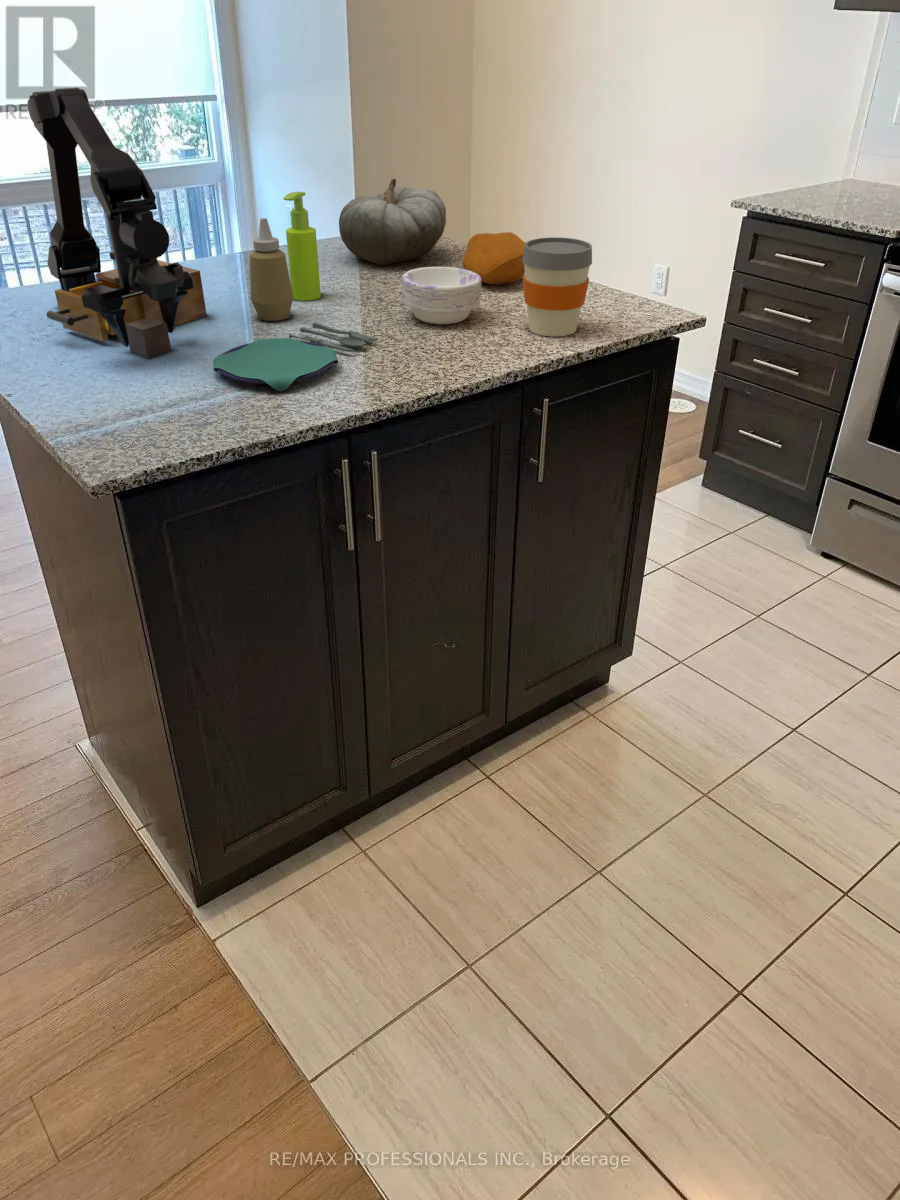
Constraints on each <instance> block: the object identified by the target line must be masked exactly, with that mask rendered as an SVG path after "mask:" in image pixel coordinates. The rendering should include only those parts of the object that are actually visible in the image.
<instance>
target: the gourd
mask: <svg viewBox="0 0 900 1200" xmlns="http://www.w3.org/2000/svg"><path fill="white" fill-rule="evenodd" d="M446 223H447V209H446V205H445V203H444V201H443V199H442V198H441V197H440V196H439V194H438V193H437V191H435V190H434V189H431V188H428V187H421V188H415V187H408V186H399V185H398V186H397V179H396V178H391V179H390V182H389V185H388V188H387V189H386V190H385V191H384V192H381V193H378V194H377V195H376V196H373V195H362V196H358V197H356V198H353V199H351V200H350V201H349V202H347V203H346V204H345V205H344V207H343V208H342V209H341V211H340V214H339V218H338V229H339V236H340V238H341V240H342V242H343V244H344V246H345V247H346V248H347V249H348V251H349V252H350V253H351V254H352V255H353V256H355V257H356V258H358V259H361V260H365V261H368V262H370V263H373V264H377V265H380V266H381V265H382V266H386V265H388V264H389V265H390V264H392V263H398V262H407V261H411V260H418V259H421V258H423V257H425V256H427V255H428V254H429V253H430V252H431V251H432V250H433V248H434V247H435V246H436V244H437V243H438V241H439V240H440V239H441V238H442V236H443V234H444V232H445V227H446Z"/></svg>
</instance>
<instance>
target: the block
mask: <svg viewBox="0 0 900 1200" xmlns="http://www.w3.org/2000/svg"><path fill="white" fill-rule="evenodd" d="M125 326H126V330H127V335H128V340H129V346H128V347H129V351H130V353H131V354H134V355H137V356H139V357H143V358H146V359H150V358H154V357H157V356H160V355H163V354H166V353H170V352H172V345H171V341H170V340H171V339H170V333H168V328H167V323H166V322H163V321H159V320H156V319H153V318H150V317H148V318H144V319H141V320H137V321H134V322H131V323H127V324H125Z"/></svg>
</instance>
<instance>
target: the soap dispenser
mask: <svg viewBox="0 0 900 1200" xmlns="http://www.w3.org/2000/svg"><path fill="white" fill-rule="evenodd" d="M305 196H306V192H304V191H292V192H289V193H287V194H286V195H285V196H284V197H283V198H282V199H283V200H284V201H289V202H293V206H294V208H292V209H291V210H290V222H291V227H288V228H286V230H285V235H286V247H287V256H288V257H287V258H288V267H289V268H288V269H289V277H290V282H291V287H292V293H293V300H295V301H296V300H297V301H302V302H303V301H304V302H305V301H307V302H309V301H314V300H318V299H320V298H321V296H322V293H321V281H320V279H321V278H320V268H319V256H318V255H319V254H318V242H317V241H318V240H317V231H316V227H312V226H310V222H309V211H308V209H306V208H304V202H303V197H305Z"/></svg>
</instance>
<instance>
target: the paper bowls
mask: <svg viewBox="0 0 900 1200" xmlns="http://www.w3.org/2000/svg"><path fill="white" fill-rule="evenodd" d="M481 299H482V282H481V277H480V276H479V275H478V274H476V273H475V272H472V271H469V270H465V269H464V268H459V267H452V266H424V267H419V268H413V269H410V270H408V271H406V272H404V273H402V276H401V301H402V303H403V304H404V305H405V306H406V307H407V308H409V309H411V310H412V312H413V315H414V316H415V318H416V319H417V320H419V321H421V322H423V323H424V322H425V323H427V324H433V325H451V324H457V323H460V322H462V321H464V320H466V319H467V318H468V316H469V315H470V313H471V311H473V310H475V309H477V308H478V307H479V306H480V305H481Z"/></svg>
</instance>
